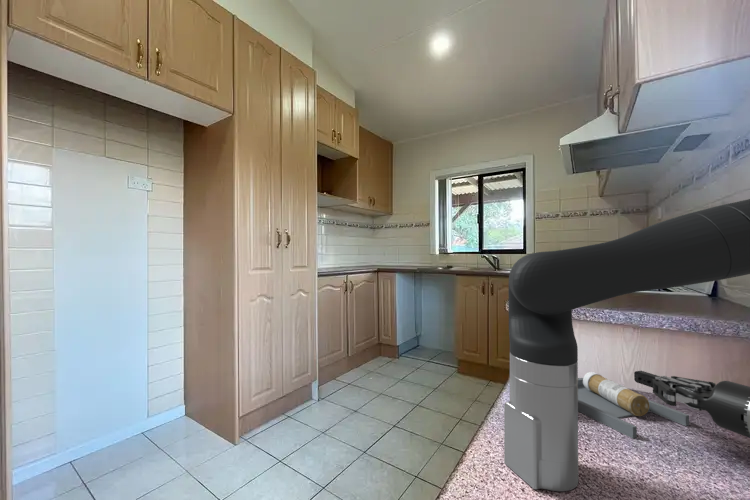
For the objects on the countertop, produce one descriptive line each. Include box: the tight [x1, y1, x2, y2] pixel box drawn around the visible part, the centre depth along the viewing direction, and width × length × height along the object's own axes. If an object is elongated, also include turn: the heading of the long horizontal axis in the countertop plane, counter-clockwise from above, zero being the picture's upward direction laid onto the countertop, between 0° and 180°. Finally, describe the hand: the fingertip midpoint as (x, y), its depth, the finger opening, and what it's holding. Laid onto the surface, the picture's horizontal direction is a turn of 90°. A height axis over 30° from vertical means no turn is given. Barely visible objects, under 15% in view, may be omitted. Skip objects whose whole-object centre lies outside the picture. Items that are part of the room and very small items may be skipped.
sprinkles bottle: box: [582, 371, 649, 417], centre depth 71 cm, size 5×5×13 cm
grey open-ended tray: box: [578, 377, 690, 439], centre depth 69 cm, size 16×21×2 cm
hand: (636, 375), depth 64 cm, fingers closed
